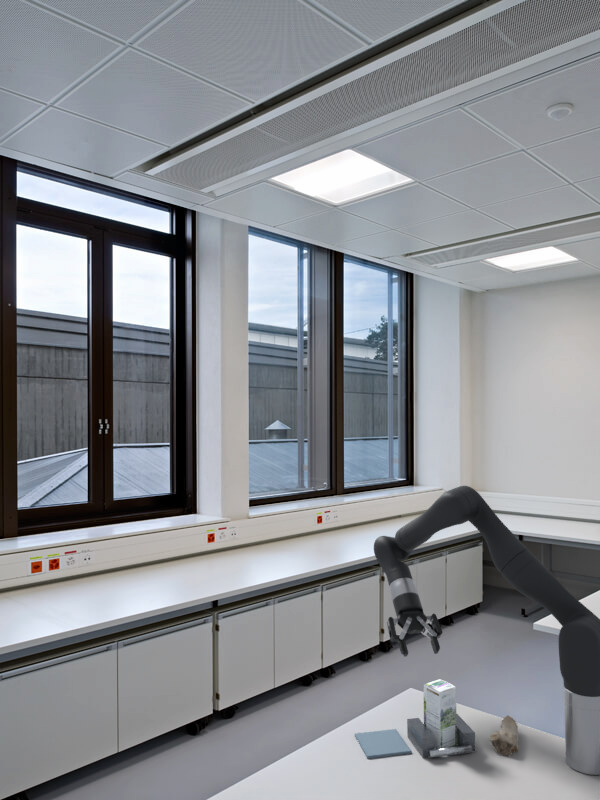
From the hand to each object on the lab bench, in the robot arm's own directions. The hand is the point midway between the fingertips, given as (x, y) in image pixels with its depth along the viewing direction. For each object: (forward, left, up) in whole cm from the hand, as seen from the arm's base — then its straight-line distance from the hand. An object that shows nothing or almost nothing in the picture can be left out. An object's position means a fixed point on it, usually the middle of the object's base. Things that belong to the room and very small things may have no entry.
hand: (421, 653), depth 167 cm
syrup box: (0, +11, -18) cm, 21 cm away
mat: (+14, +8, -18) cm, 24 cm away
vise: (0, +11, -18) cm, 21 cm away
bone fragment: (-16, +14, -18) cm, 28 cm away
